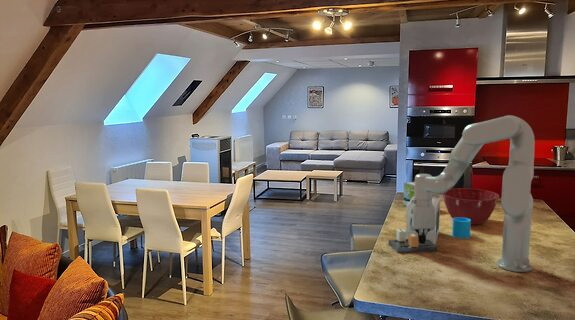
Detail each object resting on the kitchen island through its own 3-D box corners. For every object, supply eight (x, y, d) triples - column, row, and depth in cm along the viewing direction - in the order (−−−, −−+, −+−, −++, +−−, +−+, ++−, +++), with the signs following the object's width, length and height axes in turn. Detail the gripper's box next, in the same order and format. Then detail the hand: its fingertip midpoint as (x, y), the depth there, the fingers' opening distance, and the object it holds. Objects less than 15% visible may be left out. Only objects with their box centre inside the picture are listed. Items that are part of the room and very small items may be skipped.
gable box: (412, 229, 236) (413, 175, 232) (439, 232, 231) (441, 177, 227) (405, 242, 216) (406, 183, 212) (434, 245, 211) (436, 185, 207)
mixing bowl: (489, 232, 229) (491, 201, 227) (433, 223, 246) (434, 194, 244) (503, 219, 251) (504, 192, 249) (450, 212, 269) (451, 186, 266)
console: (437, 250, 202) (437, 246, 202) (397, 252, 200) (397, 247, 200) (426, 242, 214) (426, 237, 214) (388, 244, 212) (388, 239, 212)
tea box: (402, 205, 285) (403, 182, 283) (415, 204, 289) (416, 181, 287) (419, 211, 272) (419, 186, 270) (432, 209, 276) (433, 185, 274)
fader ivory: (405, 241, 209) (405, 231, 208) (399, 241, 208) (399, 231, 208) (402, 238, 213) (402, 228, 212) (396, 238, 212) (396, 228, 212)
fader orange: (418, 246, 201) (418, 236, 200) (411, 247, 201) (411, 236, 200) (414, 243, 205) (414, 233, 204) (408, 244, 205) (408, 233, 204)
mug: (468, 239, 218) (468, 222, 217) (450, 236, 223) (450, 220, 222) (473, 233, 228) (474, 216, 227) (456, 230, 233) (456, 214, 232)
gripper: (409, 204, 196) (408, 246, 199) (443, 203, 198) (441, 245, 200) (403, 200, 204) (402, 241, 206) (435, 199, 205) (434, 239, 208)
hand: (421, 242), depth 203 cm, fingers closed
